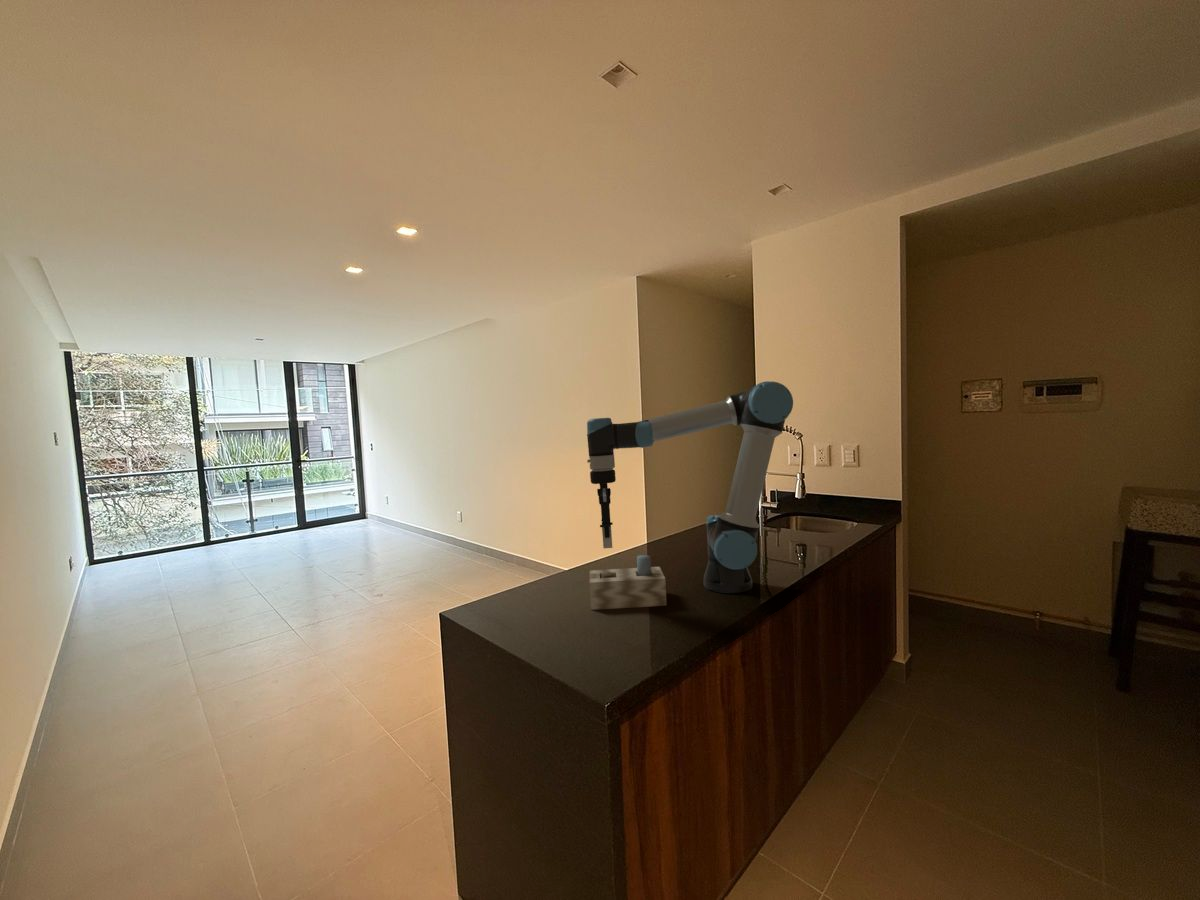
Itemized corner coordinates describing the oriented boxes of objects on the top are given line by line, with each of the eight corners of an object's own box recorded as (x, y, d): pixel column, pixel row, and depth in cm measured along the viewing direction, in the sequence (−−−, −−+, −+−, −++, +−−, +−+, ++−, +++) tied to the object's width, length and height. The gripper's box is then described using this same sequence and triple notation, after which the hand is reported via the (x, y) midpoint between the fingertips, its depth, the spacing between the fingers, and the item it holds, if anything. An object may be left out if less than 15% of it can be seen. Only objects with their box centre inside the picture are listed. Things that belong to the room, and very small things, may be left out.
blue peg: (650, 580, 146) (649, 554, 146) (652, 584, 142) (650, 558, 142) (637, 581, 146) (636, 555, 146) (638, 585, 142) (637, 559, 142)
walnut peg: (615, 597, 146) (614, 571, 146) (616, 602, 142) (614, 575, 142) (602, 598, 146) (601, 572, 146) (602, 603, 142) (601, 576, 142)
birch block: (660, 591, 150) (659, 566, 150) (666, 605, 138) (665, 578, 138) (591, 595, 150) (589, 570, 150) (591, 609, 138) (589, 582, 138)
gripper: (590, 468, 149) (595, 543, 150) (589, 472, 136) (595, 554, 137) (613, 467, 149) (619, 541, 150) (615, 470, 136) (621, 552, 137)
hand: (607, 547), depth 143 cm, fingers closed
